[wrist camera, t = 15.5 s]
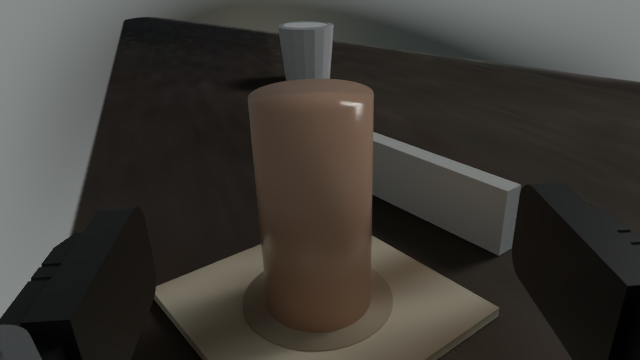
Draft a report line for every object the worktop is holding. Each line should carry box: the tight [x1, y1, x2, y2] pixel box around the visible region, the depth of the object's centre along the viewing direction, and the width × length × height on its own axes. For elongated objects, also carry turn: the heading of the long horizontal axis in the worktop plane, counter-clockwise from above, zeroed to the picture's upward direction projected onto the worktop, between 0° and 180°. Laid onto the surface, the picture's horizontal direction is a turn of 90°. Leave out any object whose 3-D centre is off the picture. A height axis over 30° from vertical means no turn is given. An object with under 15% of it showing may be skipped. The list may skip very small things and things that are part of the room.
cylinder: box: [248, 79, 374, 333], centre depth 23 cm, size 5×5×10 cm
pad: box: [154, 236, 499, 360], centre depth 25 cm, size 12×12×1 cm
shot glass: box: [278, 21, 333, 81], centre depth 65 cm, size 7×7×7 cm
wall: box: [372, 132, 521, 256], centre depth 33 cm, size 12×1×4 cm, turn 38°
